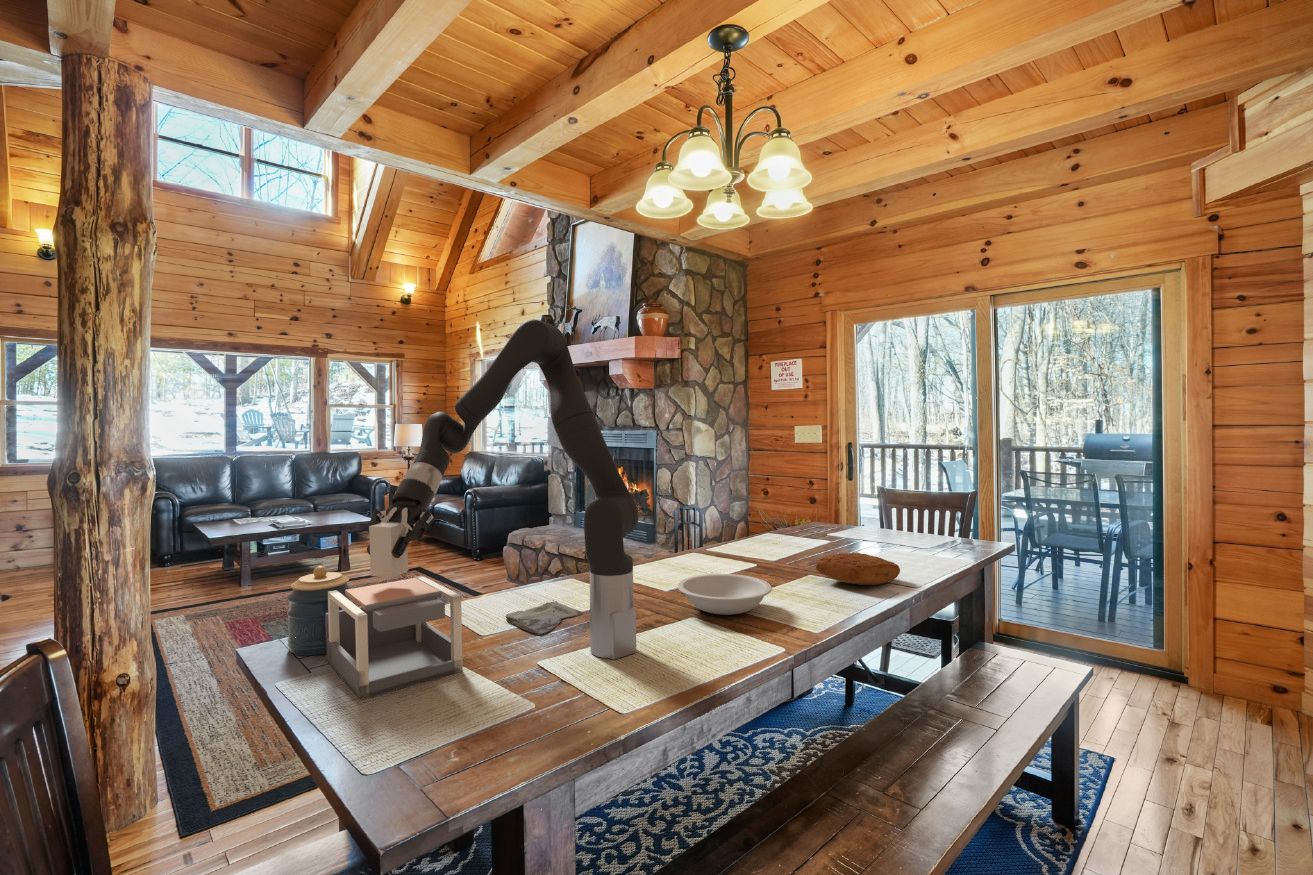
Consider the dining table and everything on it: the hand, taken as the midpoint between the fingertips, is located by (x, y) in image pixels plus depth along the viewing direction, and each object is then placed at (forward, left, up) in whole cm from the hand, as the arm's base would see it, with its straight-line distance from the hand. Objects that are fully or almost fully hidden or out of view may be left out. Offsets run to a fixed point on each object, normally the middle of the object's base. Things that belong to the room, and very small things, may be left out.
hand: (383, 554), depth 125 cm
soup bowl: (-21, -77, -23) cm, 83 cm away
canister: (+21, +7, -23) cm, 32 cm away
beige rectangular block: (+1, -2, -4) cm, 5 cm away
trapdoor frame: (-1, -1, -23) cm, 23 cm away
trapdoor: (-4, -1, -11) cm, 12 cm away
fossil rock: (+4, -39, -23) cm, 46 cm away
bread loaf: (-29, -126, -23) cm, 131 cm away
